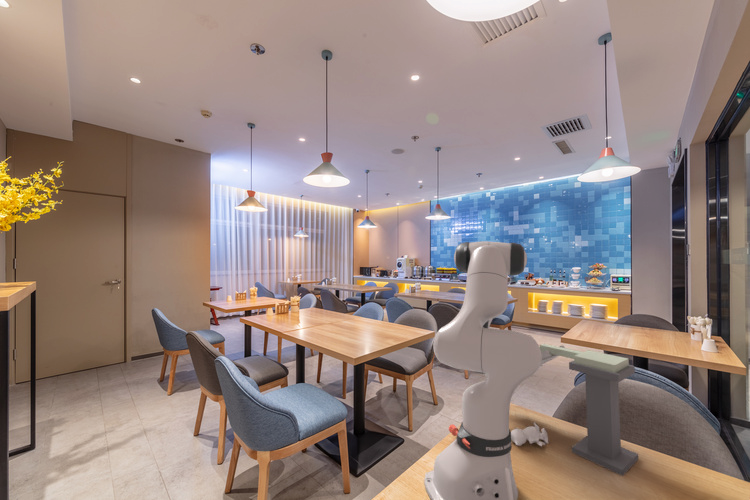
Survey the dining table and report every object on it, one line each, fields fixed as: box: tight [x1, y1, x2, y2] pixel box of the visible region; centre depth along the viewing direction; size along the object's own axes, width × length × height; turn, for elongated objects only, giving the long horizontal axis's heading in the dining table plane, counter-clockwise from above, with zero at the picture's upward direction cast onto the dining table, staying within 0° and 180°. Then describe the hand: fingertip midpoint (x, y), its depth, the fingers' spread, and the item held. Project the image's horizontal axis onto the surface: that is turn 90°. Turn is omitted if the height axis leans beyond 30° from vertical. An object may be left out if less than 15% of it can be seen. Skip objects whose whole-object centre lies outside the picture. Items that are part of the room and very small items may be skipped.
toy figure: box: [510, 422, 549, 447], centre depth 94 cm, size 11×5×12 cm
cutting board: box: [539, 343, 630, 373], centre depth 93 cm, size 10×22×2 cm, turn 34°
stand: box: [568, 360, 639, 477], centre depth 88 cm, size 12×12×26 cm
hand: (556, 350), depth 98 cm, fingers open, 8 cm apart
